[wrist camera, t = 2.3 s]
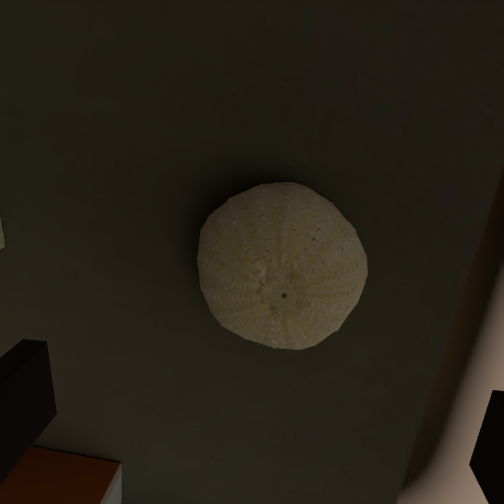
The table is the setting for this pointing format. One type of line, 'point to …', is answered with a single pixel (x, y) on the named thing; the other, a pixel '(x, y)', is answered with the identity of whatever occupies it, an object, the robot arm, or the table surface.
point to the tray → (1, 236)
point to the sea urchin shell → (280, 265)
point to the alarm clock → (62, 479)
